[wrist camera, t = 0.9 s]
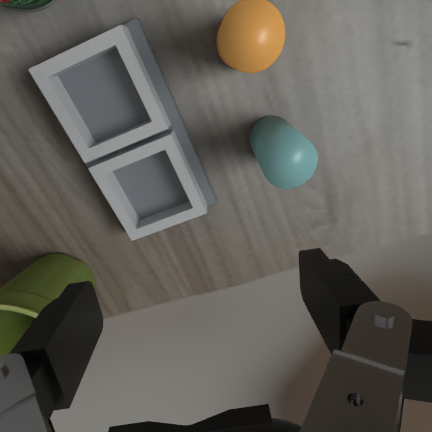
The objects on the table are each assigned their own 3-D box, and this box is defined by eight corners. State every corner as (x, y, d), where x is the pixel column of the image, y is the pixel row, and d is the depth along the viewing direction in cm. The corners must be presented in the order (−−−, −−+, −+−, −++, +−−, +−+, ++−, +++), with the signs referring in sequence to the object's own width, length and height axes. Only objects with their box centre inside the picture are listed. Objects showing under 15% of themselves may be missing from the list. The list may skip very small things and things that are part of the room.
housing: (34, 69, 27) (15, 71, 24) (139, 19, 25) (131, 14, 23) (130, 231, 34) (124, 246, 31) (216, 199, 33) (217, 211, 30)
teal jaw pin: (243, 125, 29) (254, 147, 22) (284, 108, 29) (310, 125, 22) (256, 164, 31) (271, 196, 24) (296, 149, 31) (323, 177, 23)
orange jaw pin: (208, 26, 26) (209, 14, 19) (255, 5, 25) (274, -16, 18) (226, 76, 28) (232, 83, 20) (270, 57, 27) (292, 57, 20)
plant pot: (137, 285, 37) (111, 368, 27) (67, 329, 40) (20, 420, 30) (60, 212, 33) (-5, 281, 23) (-12, 268, 36) (-98, 351, 26)
